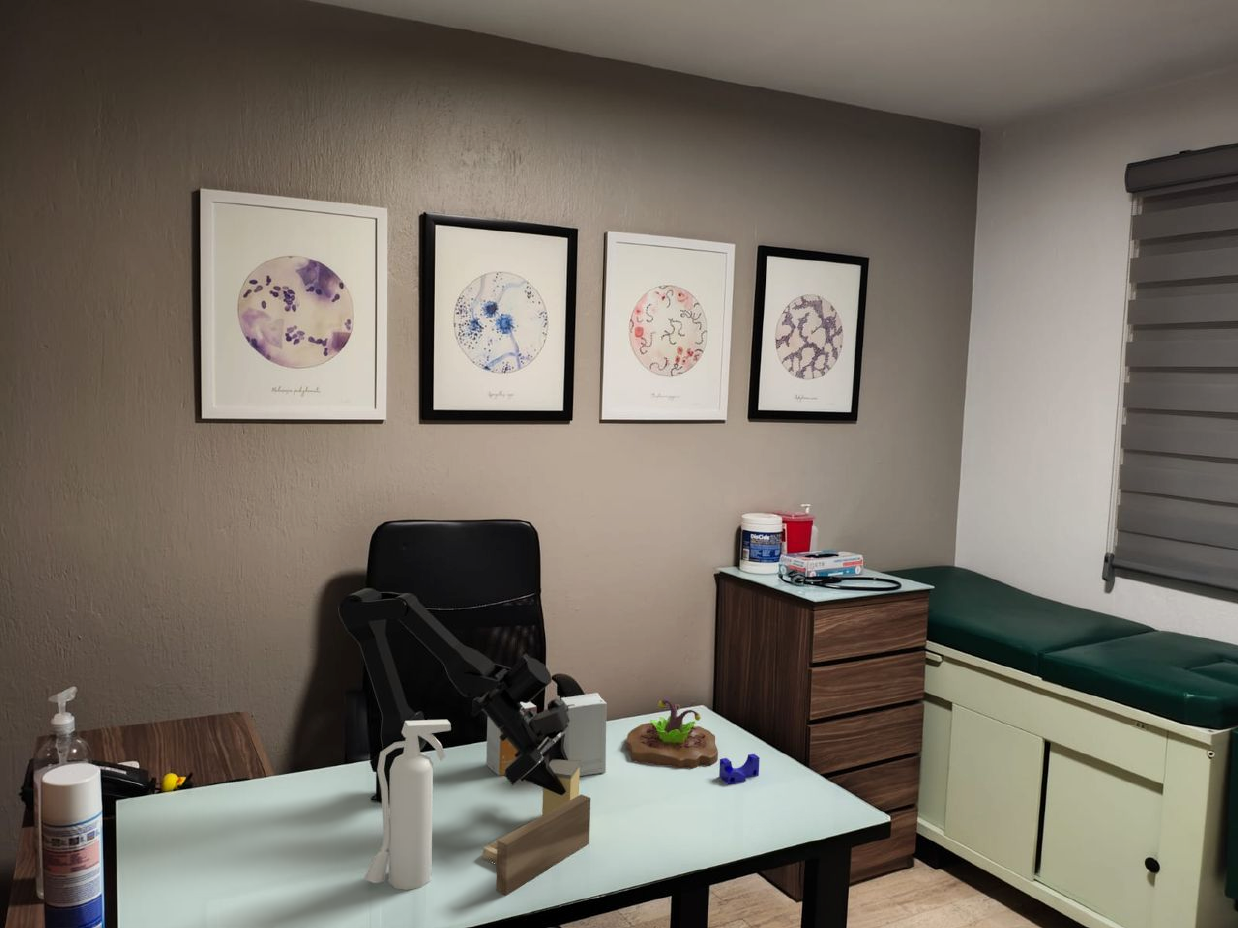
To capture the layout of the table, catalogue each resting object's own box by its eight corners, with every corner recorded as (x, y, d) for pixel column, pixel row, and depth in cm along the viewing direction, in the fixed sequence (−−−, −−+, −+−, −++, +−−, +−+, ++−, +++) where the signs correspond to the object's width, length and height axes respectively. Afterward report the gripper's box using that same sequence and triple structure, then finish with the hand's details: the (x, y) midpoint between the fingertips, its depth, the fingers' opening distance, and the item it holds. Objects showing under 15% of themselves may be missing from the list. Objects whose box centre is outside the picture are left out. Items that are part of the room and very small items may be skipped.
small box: (499, 777, 172) (500, 712, 171) (485, 765, 177) (486, 702, 176) (535, 768, 176) (537, 705, 175) (521, 756, 181) (522, 695, 180)
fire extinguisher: (359, 874, 136) (366, 719, 133) (436, 861, 141) (444, 711, 139) (366, 898, 129) (374, 736, 127) (446, 883, 135) (456, 727, 133)
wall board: (458, 871, 138) (459, 822, 137) (543, 824, 154) (544, 780, 153) (505, 895, 131) (506, 844, 131) (589, 843, 147) (590, 797, 147)
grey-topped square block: (541, 826, 153) (542, 771, 152) (551, 811, 158) (553, 758, 157) (569, 830, 151) (570, 775, 151) (578, 815, 157) (580, 762, 156)
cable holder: (728, 785, 172) (728, 765, 171) (719, 778, 175) (719, 758, 174) (762, 779, 175) (763, 760, 174) (753, 772, 178) (754, 753, 178)
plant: (627, 730, 199) (628, 682, 198) (713, 734, 198) (715, 686, 197) (623, 767, 179) (625, 714, 178) (719, 772, 178) (721, 718, 177)
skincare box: (597, 761, 180) (599, 691, 179) (606, 774, 174) (608, 701, 173) (557, 766, 177) (559, 695, 176) (566, 779, 172) (568, 705, 170)
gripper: (524, 708, 145) (586, 781, 143) (558, 674, 163) (614, 738, 161) (479, 748, 147) (539, 820, 146) (517, 710, 165) (572, 774, 164)
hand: (568, 786), depth 154 cm, fingers closed on grey-topped square block, 5 cm apart
